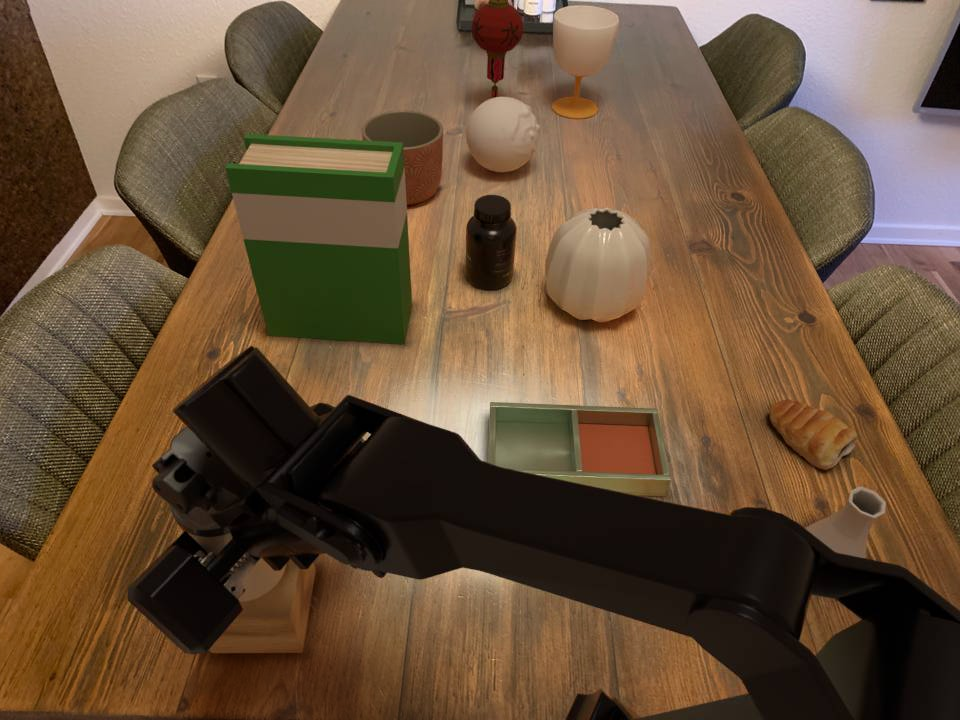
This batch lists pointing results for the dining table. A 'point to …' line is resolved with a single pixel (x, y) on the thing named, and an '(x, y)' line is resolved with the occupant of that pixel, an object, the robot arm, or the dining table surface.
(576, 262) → the vase
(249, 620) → the riser
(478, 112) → the decorative ball
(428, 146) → the planter
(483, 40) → the lantern
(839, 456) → the pastry
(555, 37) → the cup
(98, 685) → the dining table surface
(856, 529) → the flask
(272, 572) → the jar
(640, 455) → the tray
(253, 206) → the hardback book
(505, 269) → the supplement bottle
